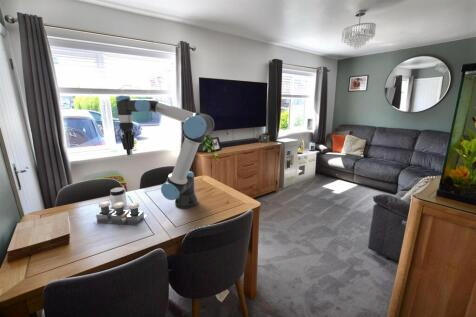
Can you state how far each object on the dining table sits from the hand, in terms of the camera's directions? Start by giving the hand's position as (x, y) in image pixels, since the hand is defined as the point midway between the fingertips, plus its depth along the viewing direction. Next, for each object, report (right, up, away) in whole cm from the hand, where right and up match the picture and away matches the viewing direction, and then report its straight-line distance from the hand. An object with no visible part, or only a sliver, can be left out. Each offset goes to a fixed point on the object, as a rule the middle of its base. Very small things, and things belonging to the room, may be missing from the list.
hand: (130, 159), depth 140 cm
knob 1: (-10, -34, -9) cm, 37 cm away
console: (-1, -36, -9) cm, 37 cm away
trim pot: (+3, -36, -13) cm, 38 cm away
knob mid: (-1, -35, -10) cm, 36 cm away
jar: (-11, -32, +8) cm, 34 cm away
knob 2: (+8, -35, -11) cm, 37 cm away
